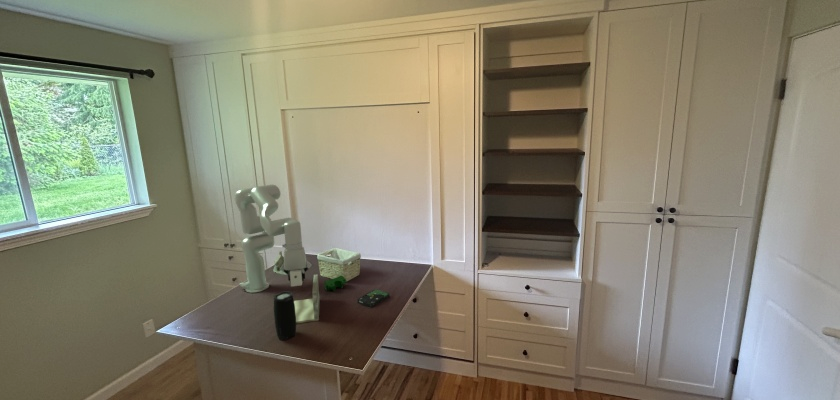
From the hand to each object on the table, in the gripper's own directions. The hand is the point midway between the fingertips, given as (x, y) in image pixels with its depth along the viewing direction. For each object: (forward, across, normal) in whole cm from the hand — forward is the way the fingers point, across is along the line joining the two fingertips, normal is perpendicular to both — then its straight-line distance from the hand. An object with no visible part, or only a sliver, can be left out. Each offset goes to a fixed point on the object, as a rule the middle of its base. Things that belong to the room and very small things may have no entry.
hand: (297, 280), depth 167 cm
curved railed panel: (+17, 0, 0) cm, 17 cm away
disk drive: (+18, +38, +2) cm, 42 cm away
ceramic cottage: (+17, -13, +60) cm, 63 cm away
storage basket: (+17, +22, +41) cm, 49 cm away
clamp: (+17, +18, +22) cm, 33 cm away
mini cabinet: (+1, 0, 0) cm, 1 cm away
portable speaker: (+17, -4, -20) cm, 27 cm away
